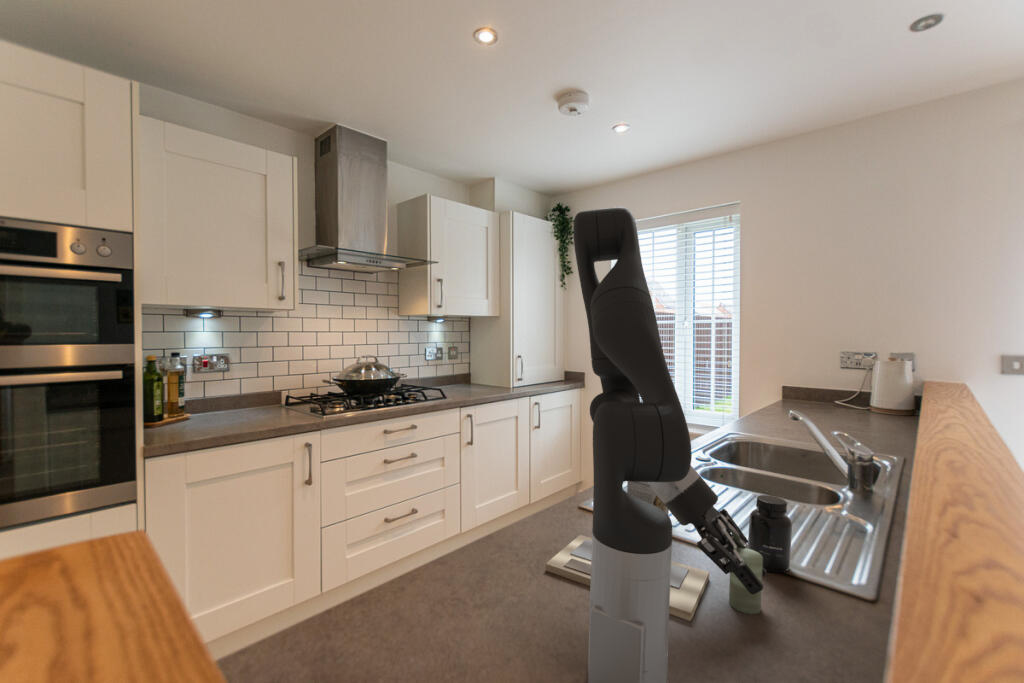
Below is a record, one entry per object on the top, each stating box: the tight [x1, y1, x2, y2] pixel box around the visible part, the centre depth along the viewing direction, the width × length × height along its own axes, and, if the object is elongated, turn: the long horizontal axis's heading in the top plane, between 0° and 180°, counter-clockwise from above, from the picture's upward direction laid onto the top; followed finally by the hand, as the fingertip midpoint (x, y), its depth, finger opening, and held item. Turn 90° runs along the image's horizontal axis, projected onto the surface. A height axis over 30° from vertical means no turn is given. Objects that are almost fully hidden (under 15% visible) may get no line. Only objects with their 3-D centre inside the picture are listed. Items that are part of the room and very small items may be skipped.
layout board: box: [545, 534, 710, 622], centre depth 80 cm, size 14×24×1 cm, turn 57°
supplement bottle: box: [747, 494, 793, 574], centre depth 84 cm, size 7×7×12 cm
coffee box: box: [626, 481, 670, 516], centre depth 103 cm, size 9×6×16 cm
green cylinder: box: [728, 548, 763, 615], centre depth 71 cm, size 4×4×8 cm
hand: (759, 583), depth 70 cm, fingers closed on green cylinder, 4 cm apart
